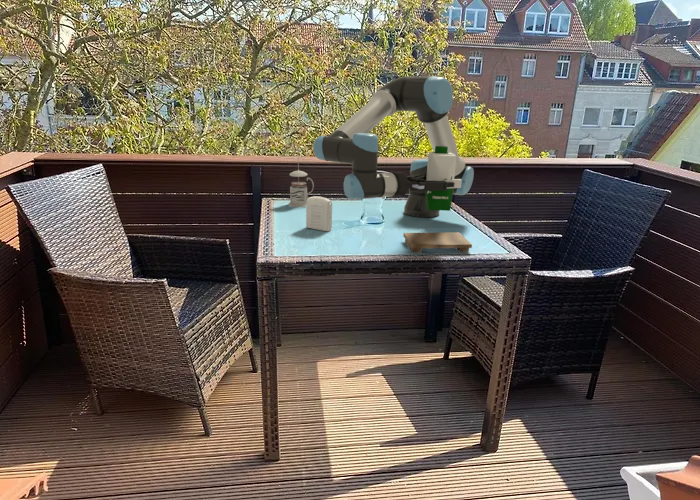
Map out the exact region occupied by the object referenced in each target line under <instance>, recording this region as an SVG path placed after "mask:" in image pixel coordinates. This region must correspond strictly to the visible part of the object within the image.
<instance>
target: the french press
mask: <svg viewBox="0 0 700 500" xmlns="http://www.w3.org/2000/svg"><path fill="white" fill-rule="evenodd" d="M295 151H296V152H297V153H298V154H297V166H298V168H297V170H294V171H292V172H290V173H289V176H290V177H294V178H295V177H296V178H297V177H298V178H297V179H298V181H291V182H290V187H289V193H290V194H289V196H290V199H289V202H288V205H287V206H290V207H293V208H300V207H301V208H304V207H305V208H306V202H307V199H308V198H309V196H308V195H310V194H311V193H312V192H313V190H314V187H315V183H314V181H313V179H312V178H310V177H307V176H308V173H307V172H305V171H302V170H300V167H299V165H300V163H299V161H300V160H299V159H300V158H299V157H300V156H299V153H300V152H301V149H300V148H296V150H295ZM302 177H306V181H307V182H308V180H310V181H311V184H312V189H311V190H310V192H308V186H307V184H308V183H307V182H305V181H300V178H302Z"/></svg>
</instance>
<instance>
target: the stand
mask: <svg viewBox="0 0 700 500" xmlns="http://www.w3.org/2000/svg"><path fill="white" fill-rule="evenodd" d="M402 235H403V238H404V242H405V243H406V246H407V247H408V248H409V250H410V251H411V253H412V254H413V253H414V254H416V253H417V254H421V253H423V252H422V250H423V249H456V250H457V251H458V252H459V253H469V252H470V251H469V250H470V249H472V248H473V244H472V243H471V242H470V241H469V240H468V239H467V238H466V237H464V236H463V234H461V233H460V231H459V232H458V231H456V232H453V231H451V232H450V231H449V232H446V231H445V232H403V234H402Z"/></svg>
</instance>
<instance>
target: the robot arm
mask: <svg viewBox="0 0 700 500" xmlns="http://www.w3.org/2000/svg"><path fill="white" fill-rule="evenodd" d="M453 96H454V92H453V87H452V84H451V83H450V81H449V80H448V79H447V78H445V77H442V76H441V77H440V76H436V75H435V76H434V75H431V76H411V75H409V76H407V75H406V76H402V77H398V78H395V79H393V80H392V81H389V82H387V83H386V84H385V85H383V86H382V87H381V86H380V88H379V89H378V90H376V91H375V92H374V94H373V95H372V98H371V99H370V100H369V101H368V102H367V103H366V104H365V105H364V106H362V107H361V108H360V109H359V110H357V112H355V114H353V115H351V116H350V117H349V118H348V119H347V120H346V121H345V122H344V123H343V124H342V125H340V126H339V127H338V128H337V129H335V130H334V131H333V132H332V133H331V134H330V135H320V136H318V137H316V139H315V140H314V142H313V145H312V151H313V153H314V156H315V158H317V159H318V160H322V161H325V162H333V163H341V164H347V165H348V164H350V165H351V168H352V170H351V173H349V174H346V176H345V177H344V181H343V191H344V192H343V193H344V194H345V196H346V198H348V199H350V200H364V199H365V200H366V199H375V198H376V199H377V198H381V199H383V200H385V199H386V198H390V197H403V196H405V195H406V194H407V193H408V197H407V199H406V202H405V204H404V208H403V213H404V214H405V215H407V216H410V217H417V218H433V217H438V216H439V215H440V211H441V210H429V209H428V208H427V206H426V191H440V190H443V192H445V191H446V190H447V189H450V188H453V196H454V195H455V196H464V195H466V194H468V192H469V191H470V189H471V187H472V184H473V182H474V177H475V176H474V175H475V174H474V173H475V170H474V168H473V167H472V166H468V165H467V164H466V162H465V160H464V158H462V157H461V156H460V155H459V152H458V149H457V145H456V141H455V138H454V134H453V131H452V127H451V123H450V121H449V117H448V114H449V113H450V110H451V108H452V107H453V102H454V98H453ZM397 112H414V113H415V115H416V116H417V120H418V121H419V122H421V123H423V124H424V127H425V130H426V134H427V136H428V139H429V142H430V145H431V148H432V152H435V146H446V147H448V150H447V152H448V153H453V154H455V155H456V166H455V177H454V179H453V180H443V181H426V178H427V166H428V158H423V159H415V160H414V161H412V162H411V164H410V170H409V174H410V175H406V173H405V172H404V171H403V172H402V171H397V172H394V171H393V172H378V160H379V159H378V157H379V156H378V153H379V141H378V139H379V137H378V136H377V134H375V133H370V132H371V131H373V129H374V128H376V127H377V125H378V124H380V122H381V121H383V120H384V119H386V117H391V116H393V115H394V113H397ZM466 165H467V166H466Z"/></svg>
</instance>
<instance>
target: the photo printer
mask: <svg viewBox="0 0 700 500" xmlns="http://www.w3.org/2000/svg"><path fill="white" fill-rule="evenodd" d="M305 209H306V210H305V213H306V214H305V215H306V216H305V218H306V220H305V223H306V224H305V226H306V228H309V229H314V230H317V231H318V230H319V231H321V232H323V231H324V232H331V231H332V228H333V227H332V225H333V202H332V200H330V199H329V198H326V197H324V196H315V195H313V196H311V197H309V196H308V199H307V202H306V206H305Z"/></svg>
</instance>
